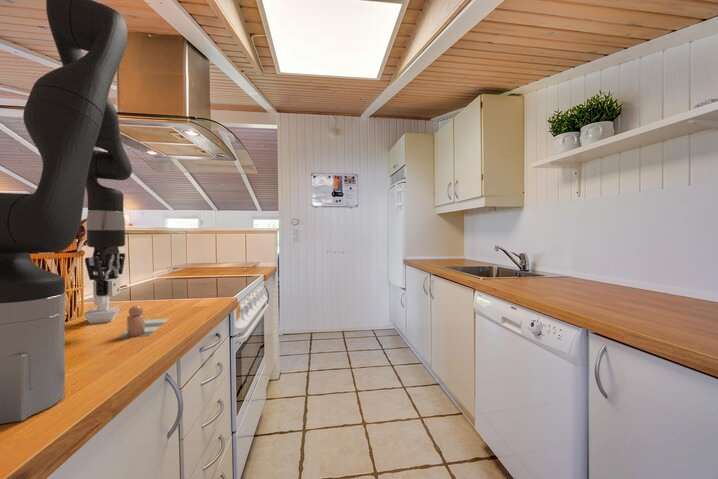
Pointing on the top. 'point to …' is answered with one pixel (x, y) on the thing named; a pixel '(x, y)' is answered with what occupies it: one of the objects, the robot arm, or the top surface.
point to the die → (109, 288)
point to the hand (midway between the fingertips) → (107, 293)
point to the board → (148, 327)
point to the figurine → (101, 311)
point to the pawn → (135, 321)
